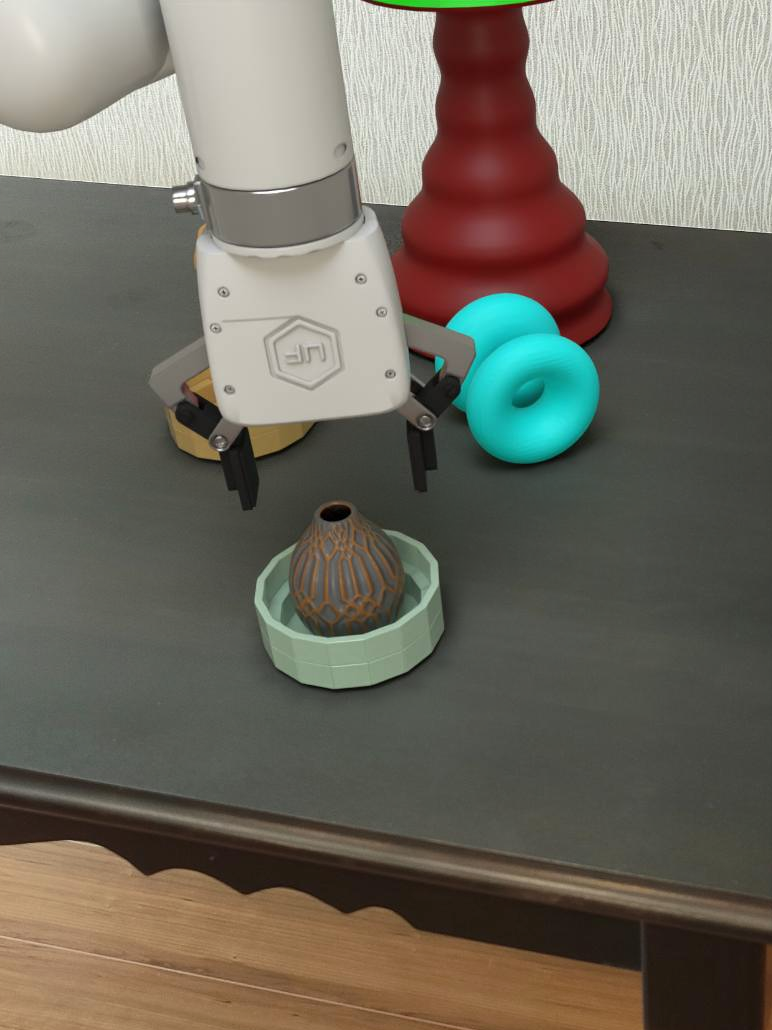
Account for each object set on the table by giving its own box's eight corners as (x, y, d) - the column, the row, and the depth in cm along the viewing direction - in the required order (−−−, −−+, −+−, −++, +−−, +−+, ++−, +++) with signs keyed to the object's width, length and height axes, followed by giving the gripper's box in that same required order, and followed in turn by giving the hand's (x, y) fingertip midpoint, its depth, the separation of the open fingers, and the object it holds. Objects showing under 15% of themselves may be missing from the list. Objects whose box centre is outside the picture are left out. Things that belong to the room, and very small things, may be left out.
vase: (356, 680, 76) (335, 562, 70) (275, 636, 79) (250, 521, 74) (433, 617, 80) (419, 501, 75) (353, 578, 83) (334, 465, 78)
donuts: (479, 485, 92) (469, 362, 86) (436, 419, 99) (423, 302, 93) (606, 452, 95) (605, 330, 89) (555, 390, 102) (550, 274, 96)
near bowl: (259, 702, 75) (247, 650, 73) (272, 585, 84) (262, 536, 81) (448, 683, 76) (441, 631, 73) (441, 569, 84) (435, 519, 82)
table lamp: (615, 367, 105) (609, -286, 78) (374, 374, 106) (285, -270, 79) (609, 264, 121) (602, -310, 94) (400, 270, 121) (333, -296, 94)
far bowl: (164, 471, 95) (152, 425, 93) (183, 396, 104) (172, 352, 102) (313, 457, 96) (305, 411, 93) (319, 384, 105) (311, 340, 102)
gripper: (91, 247, 59) (175, 543, 70) (463, 212, 60) (492, 510, 70) (118, 187, 66) (191, 468, 76) (455, 156, 66) (483, 438, 76)
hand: (336, 488), depth 73 cm, fingers open, 9 cm apart
